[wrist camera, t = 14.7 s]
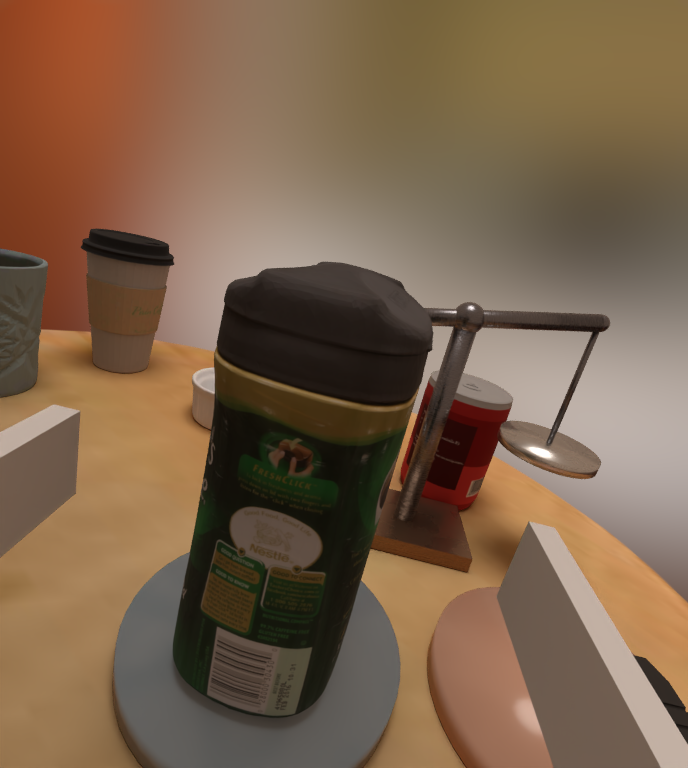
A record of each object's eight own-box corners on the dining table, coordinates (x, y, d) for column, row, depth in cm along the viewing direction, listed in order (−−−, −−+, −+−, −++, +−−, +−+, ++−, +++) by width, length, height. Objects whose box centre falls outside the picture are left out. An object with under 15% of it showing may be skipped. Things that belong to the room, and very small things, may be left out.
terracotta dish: (445, 837, 18) (456, 813, 18) (417, 583, 31) (423, 566, 31) (786, 922, 18) (807, 901, 18) (614, 632, 31) (623, 616, 31)
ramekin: (185, 398, 51) (190, 362, 49) (264, 405, 54) (270, 371, 53) (188, 437, 43) (194, 395, 42) (279, 441, 46) (288, 403, 45)
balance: (241, 516, 34) (295, 239, 27) (265, 469, 40) (312, 239, 34) (561, 596, 34) (689, 338, 27) (531, 536, 41) (627, 318, 34)
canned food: (465, 476, 49) (500, 381, 45) (483, 521, 41) (527, 411, 38) (395, 460, 48) (425, 363, 45) (401, 502, 41) (437, 389, 37)
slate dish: (35, 767, 17) (36, 740, 17) (186, 535, 30) (189, 517, 30) (397, 857, 17) (408, 833, 17) (389, 586, 30) (395, 569, 30)
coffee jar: (231, 547, 28) (289, 242, 22) (353, 589, 27) (447, 283, 22) (134, 688, 19) (190, 236, 13) (313, 758, 18) (456, 306, 12)
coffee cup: (153, 384, 52) (168, 250, 47) (61, 370, 50) (67, 228, 45) (168, 358, 61) (181, 243, 56) (90, 346, 58) (98, 225, 54)
